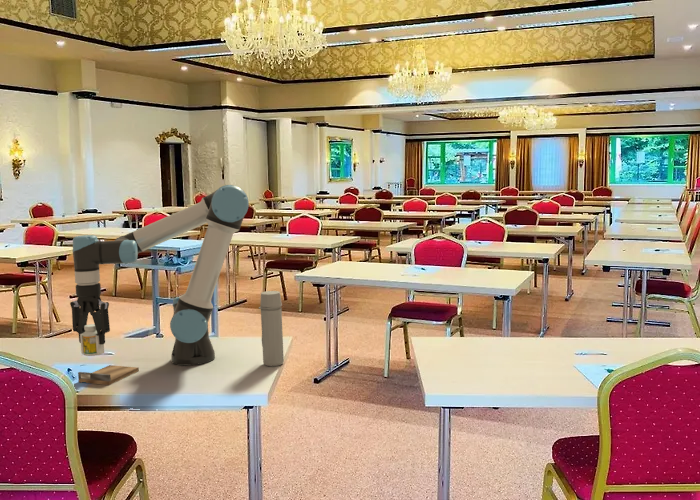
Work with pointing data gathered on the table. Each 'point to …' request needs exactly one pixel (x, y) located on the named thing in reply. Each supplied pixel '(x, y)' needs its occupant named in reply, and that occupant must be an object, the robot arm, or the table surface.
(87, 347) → the supplement bottle
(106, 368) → the wooden block
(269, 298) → the water bottle
